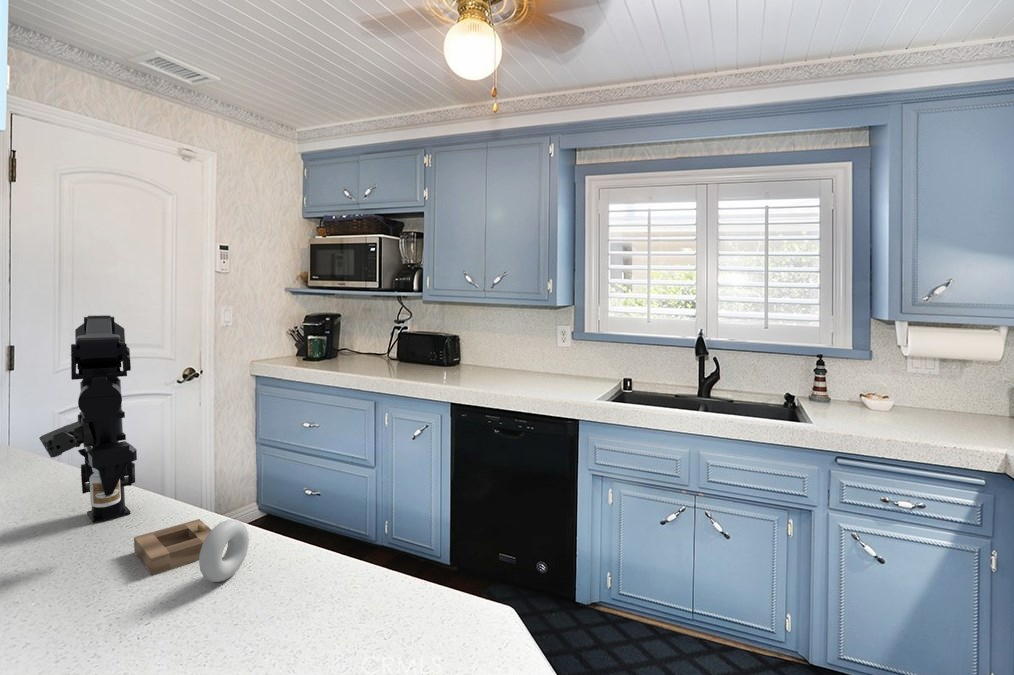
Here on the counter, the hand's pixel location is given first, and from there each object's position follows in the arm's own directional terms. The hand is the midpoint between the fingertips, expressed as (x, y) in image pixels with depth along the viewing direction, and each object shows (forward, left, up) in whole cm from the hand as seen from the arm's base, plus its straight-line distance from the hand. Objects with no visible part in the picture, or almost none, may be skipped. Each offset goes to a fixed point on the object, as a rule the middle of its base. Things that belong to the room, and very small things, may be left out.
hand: (105, 491), depth 97 cm
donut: (+23, +12, -12) cm, 29 cm away
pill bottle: (0, 0, -2) cm, 3 cm away
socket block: (+8, +9, -12) cm, 17 cm away
